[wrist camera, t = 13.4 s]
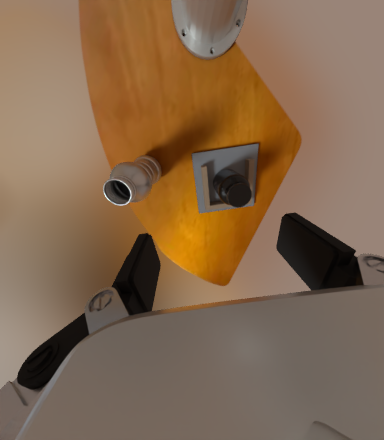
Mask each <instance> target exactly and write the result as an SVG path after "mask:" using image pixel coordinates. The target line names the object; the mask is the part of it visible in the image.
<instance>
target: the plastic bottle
mask: <svg viewBox="0 0 384 440" xmlns="http://www.w3.org/2000/svg"><path fill="white" fill-rule="evenodd" d="M161 174H162V171H161V166H160V164H159V162H158V161H157V160H156V159H155V158H153V157H151V156H148V155H143V156H140V157H138V158H137V159H136V160H135V161H134V162H123V163H120V164H118V165H116V166H115V167H114V168H113V170H112V172H111V174H110V179H109V180H107V181H106V182H105V184H104V186H103V191H104V195H105V196H106V198H107V199H108V200H109V201H110V202H112V203H113V204H116V205H126V204H128V203H129V202H139V201H142V200H144V199H146V198H147V197H148V196H149V194H150V192H151V189H152V184H154V183H156V182H158V181H159V179H160V178H161Z"/></svg>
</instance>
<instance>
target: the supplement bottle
mask: <svg viewBox="0 0 384 440" xmlns="http://www.w3.org/2000/svg"><path fill="white" fill-rule="evenodd" d="M213 187H214V189H215V191H216V193H217V194H218V196H219V198H220V199H221V201H222V202H223V203H225V204H227V205H231V206H233V207H237V208H238V207H243V206H245V205H246V204H247V203H249V201H250V199H251V197H252V191H251V189H250V183H249V181H248V180H247V178H245V177H244V176H243V175H241V174H239V173H238V172H236V171H234V170H232V169H223V170H221V171H219V172H218V173H217V174H216V175H215V177H214V179H213Z"/></svg>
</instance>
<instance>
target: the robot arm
mask: <svg viewBox="0 0 384 440" xmlns="http://www.w3.org/2000/svg"><path fill="white" fill-rule="evenodd" d="M247 3H248V0H172V12H173V19H174V23H175V27H176V30H177V33H178V35H179V38H180V40H181V41H182V43H183V45H184V46H185V47H186V48H187V50H188V51H189V52H190V53H192V54H193V55H194V56H196V57H198V58H201V59H206V60H208V59H215V58H217V57H220V56H221V55H223V54H224V53H225V52H226V51H227V50H228V49H229V48H230V47H231V46H232V45H233V43H234V42H235V40H236V38H237V36H238V35H239V33H240V30H241V28H242V25H243V22H244V19H245V15H246V10H247ZM236 25H238V27H237V26H236ZM183 34H185V36H183ZM210 52H213V54H211V53H210ZM277 250H278V252H279V253H280V254H281V255H282V256H283V258H284V259H285V260H286V261H287V262H288V263H289V265H290V266H291V267H292V268H293V269H294V271H295V272H296V273H297V274H298V275H299V276H300V277H301V279H302V280H303V281H304V282H305V283H306V285H307V286H308V287H309V288H310V289H311V290H312V291H304V292H296V293H288V294H279V295H272V296H263V297H256V298H247V299H239V300H231V301H224V302H215V303H208V304H200V305H192V306H186V307H177V308H170V309H165V310H157V311H152V307H153V301H154V296H155V291H156V286H157V281H158V276H159V271H160V260H159V257H158V254H157V251H156V248H155V245H154V242H153V239H152V236H151V235H149V234H148V233H146V234H139V236H138V237H137V239H136V241H135V243H134V245H133V247H132V249H131V252H130V253H129V255H128V256H127V257H126V259H125V261H124V263H123V265H122V267H121V269H120V271H119V273H118V275H117V277H116V279H115V281H114V283H113V285H112V287H107V288H103V289H101V290H100V291H98V292H96V293H95V294H94V295H93V296H92V297H91V298H90V299H89V300H88V302H87V303H86V306H85V313H84V314H82V315H81V316H80V317H78V318H77V319H75V320H74V321H73V322H71V323H70V324H69V325H67V326H66V327H64V328H63V329H62V330H60V331H59V332H58V333H56V334H55V335H54V336H52V337H51V338H50V339H48V340H47V341H46V342H44V343H43V344H42V345H40V346H39V347H38V348H37V349H35V350H34V351H33V352H32V353H31V355H30V356H29V357H28V358H27V359H26V360H25V362H24V363H23V364H22V367H21V368H20V370H19V372H18V377H17V378H16V379H15V381H13V382H10V381H9V382H7V383H6V385H4V386H3V387H2V388H1V389H0V440H384V257H382V256H378V255H373V254H361V255H359V256H358V257H355V256H354V253H355V252H356V251H355V250H354V249H353V248H351V247H349V246H348V245H346V244H345V243H343V242H341V241H340V240H338V239H337V238H335V237H333V236H332V235H330V234H329V233H327V232H326V231H324V230H322V229H321V228H319V227H317V226H316V225H314V224H313V223H311V222H310V221H308V220H306V219H305V218H303V217H302V216H300V215H298V214H297V213H289V214H285V215H284V216H283V217H282V220H281V225H280V231H279V236H278V241H277Z"/></svg>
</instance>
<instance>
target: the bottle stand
mask: <svg viewBox="0 0 384 440" xmlns="http://www.w3.org/2000/svg"><path fill="white" fill-rule="evenodd" d="M258 145H259V144H251V145H245V146H238V147H232V148H225V149H219V150H212V151H206V152H199V153H193V154H192V160H193V168H194V176H195V184H196V192H197V200H198V208H199V213H205V212H212V211H219V210H226V209H233V208H237V207H233V206H231V205H227V204H225V203H223V202H222V201H221V199H220V198H219V196H218V194H217V193H216V191H215V189H214V187H213V179H214V177H215V175H216V174H217V173H218V172H219V171H221V170H223V169H232V170H234V171H236V172H238V173H239V174H241V175H243V176H244V177H245V178H247V180H248V181H249V183H250V189H251V191H252V197H251V199H250V201H249V203H247V204H246V205H245V206H243V207H247V206H254V196H255V184H256V171H257V158H258ZM238 208H240V207H238Z"/></svg>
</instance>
